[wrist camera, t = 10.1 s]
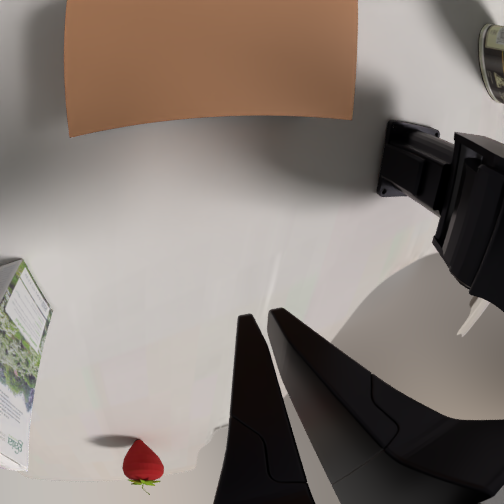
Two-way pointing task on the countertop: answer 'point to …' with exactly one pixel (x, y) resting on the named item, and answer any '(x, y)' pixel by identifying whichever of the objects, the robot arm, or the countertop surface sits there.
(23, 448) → the syrup box
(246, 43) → the block
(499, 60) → the coffee can
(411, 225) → the countertop surface
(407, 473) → the robot arm
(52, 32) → the countertop surface
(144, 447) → the strawberry
